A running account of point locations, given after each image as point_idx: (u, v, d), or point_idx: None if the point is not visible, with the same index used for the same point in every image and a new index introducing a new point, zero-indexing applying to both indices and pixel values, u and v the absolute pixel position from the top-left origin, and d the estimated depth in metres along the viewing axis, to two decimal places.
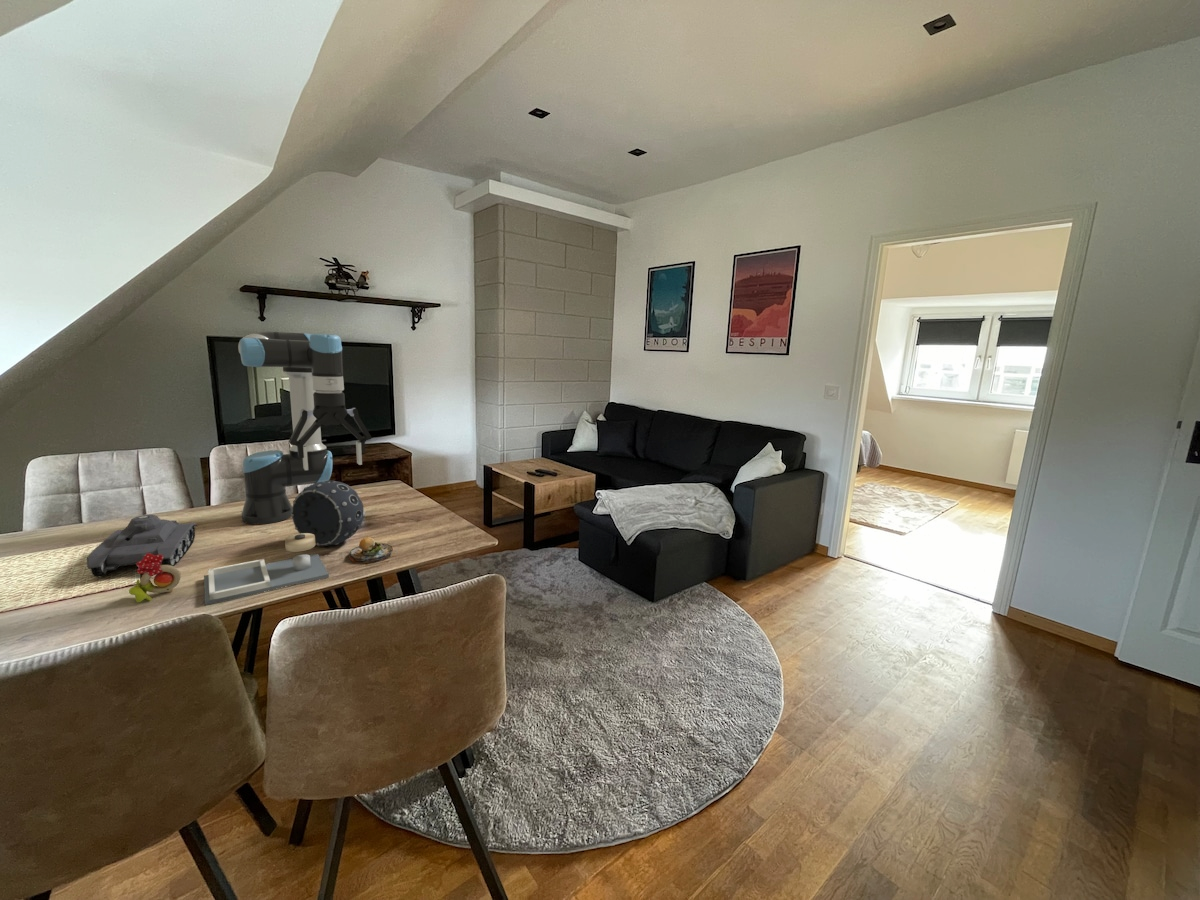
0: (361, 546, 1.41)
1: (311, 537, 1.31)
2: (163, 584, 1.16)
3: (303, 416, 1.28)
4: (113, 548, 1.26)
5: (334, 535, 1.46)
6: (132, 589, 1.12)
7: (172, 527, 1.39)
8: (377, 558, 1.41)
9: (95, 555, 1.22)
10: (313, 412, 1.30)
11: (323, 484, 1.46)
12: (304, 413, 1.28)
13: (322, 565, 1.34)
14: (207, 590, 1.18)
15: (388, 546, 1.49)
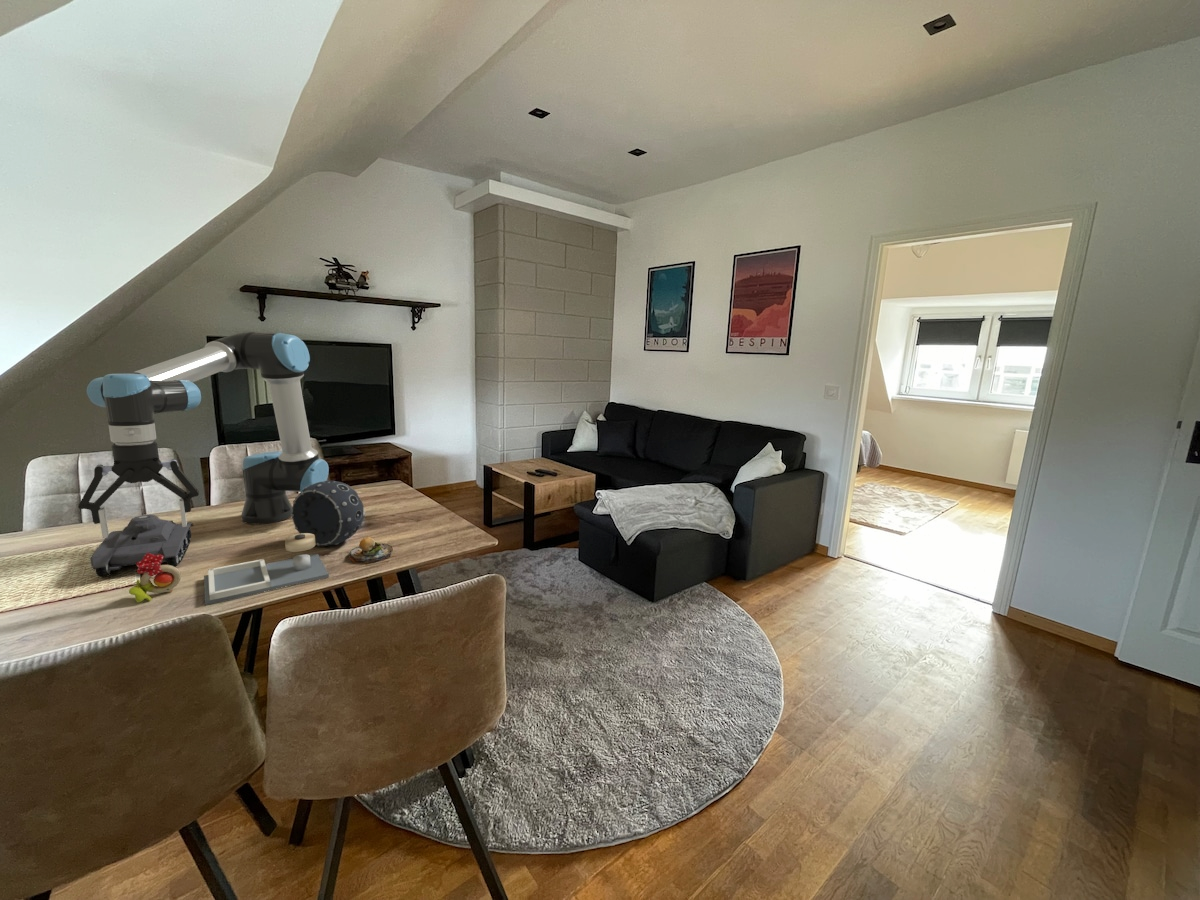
0: (361, 546, 1.41)
1: (311, 537, 1.31)
2: (163, 584, 1.16)
3: (96, 474, 1.05)
4: (115, 548, 1.26)
5: (334, 535, 1.46)
6: (132, 589, 1.12)
7: (171, 527, 1.39)
8: (377, 558, 1.41)
9: (99, 555, 1.22)
10: (111, 468, 1.07)
11: (323, 484, 1.46)
12: (97, 470, 1.05)
13: (322, 565, 1.34)
14: (207, 590, 1.18)
15: (388, 546, 1.49)
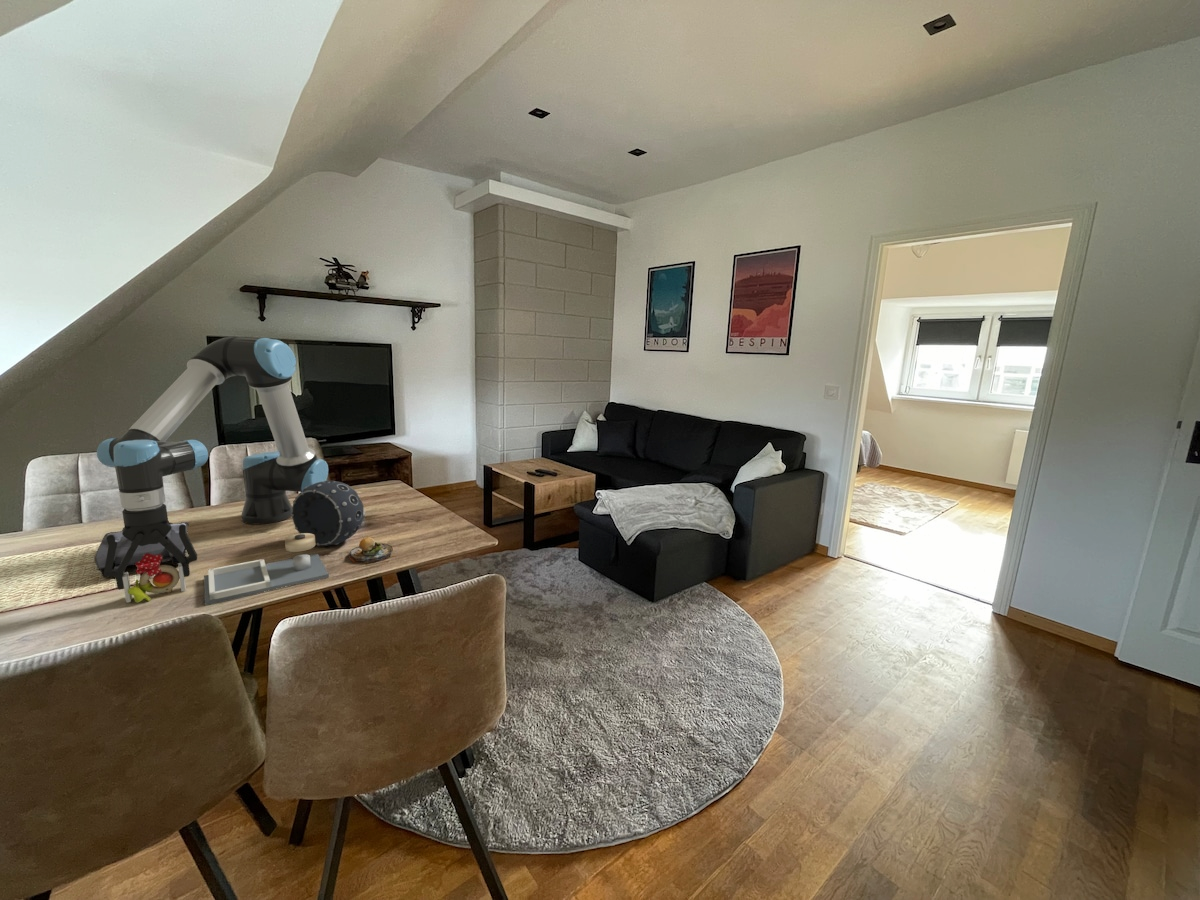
0: (361, 546, 1.41)
1: (311, 537, 1.31)
2: (162, 584, 1.16)
3: (109, 542, 1.09)
4: (118, 548, 1.26)
5: (334, 535, 1.46)
6: (131, 589, 1.12)
7: None
8: (377, 558, 1.41)
9: (103, 556, 1.22)
10: (122, 533, 1.10)
11: (323, 484, 1.46)
12: (109, 539, 1.09)
13: (322, 565, 1.34)
14: (207, 590, 1.18)
15: (388, 546, 1.49)
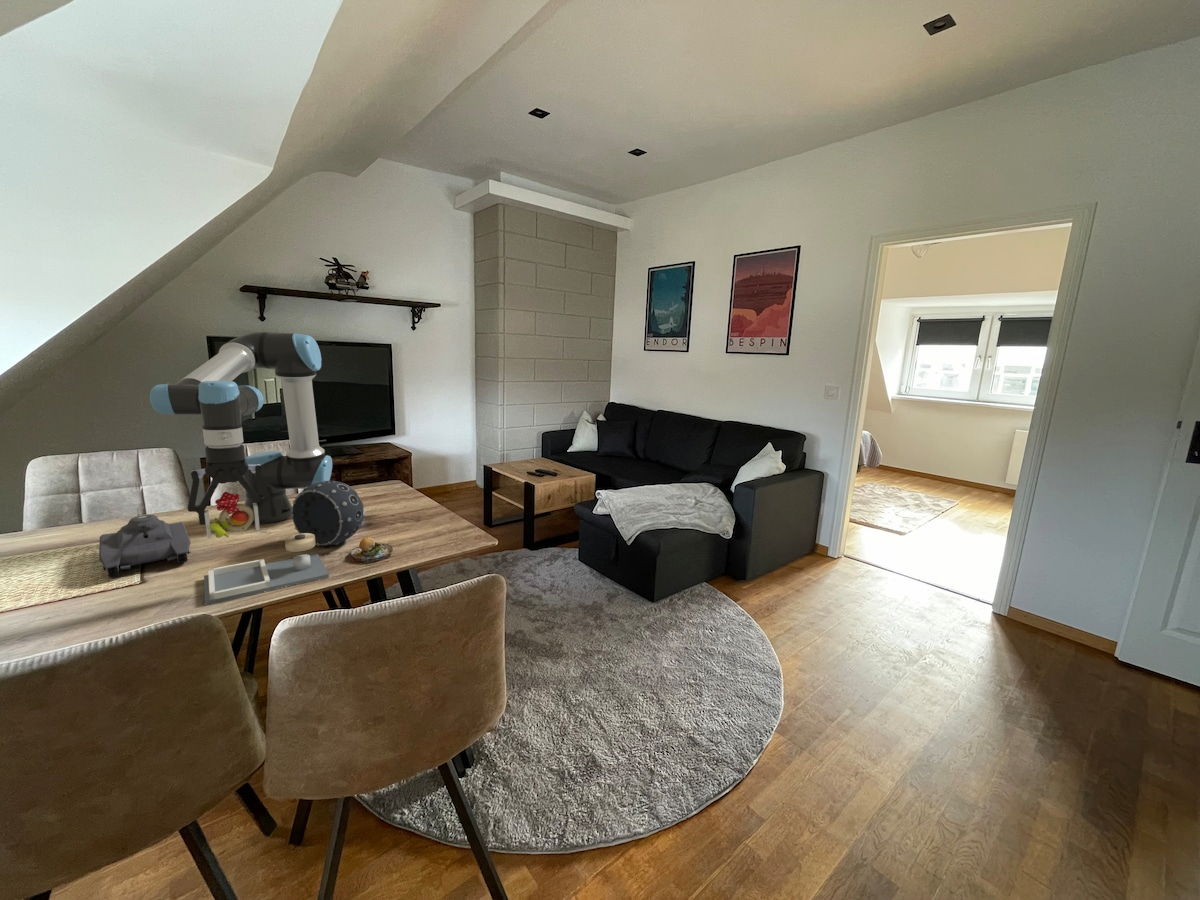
0: (361, 546, 1.41)
1: (311, 537, 1.31)
2: (239, 522, 1.20)
3: (193, 478, 1.13)
4: (122, 548, 1.26)
5: (334, 535, 1.46)
6: (212, 525, 1.16)
7: (168, 526, 1.39)
8: (377, 558, 1.41)
9: (108, 556, 1.22)
10: (205, 470, 1.15)
11: (323, 484, 1.46)
12: (193, 474, 1.13)
13: (322, 565, 1.34)
14: (207, 590, 1.18)
15: (388, 546, 1.49)
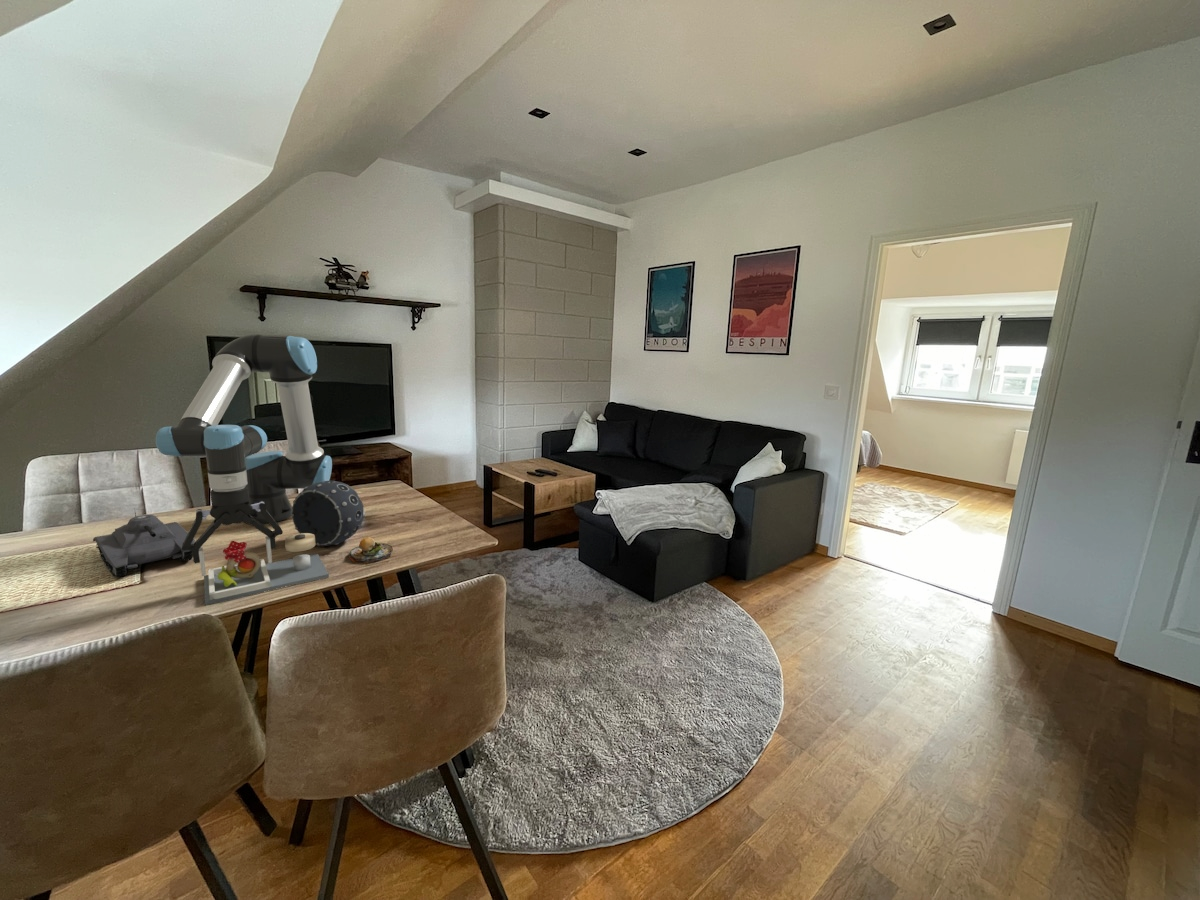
0: (361, 546, 1.41)
1: (311, 537, 1.31)
2: (247, 570, 1.23)
3: (197, 518, 1.15)
4: (126, 548, 1.26)
5: (334, 535, 1.46)
6: (220, 574, 1.19)
7: None
8: (377, 558, 1.41)
9: (114, 556, 1.23)
10: (210, 512, 1.17)
11: (323, 484, 1.46)
12: (198, 515, 1.15)
13: (322, 565, 1.34)
14: (207, 590, 1.18)
15: (388, 546, 1.49)
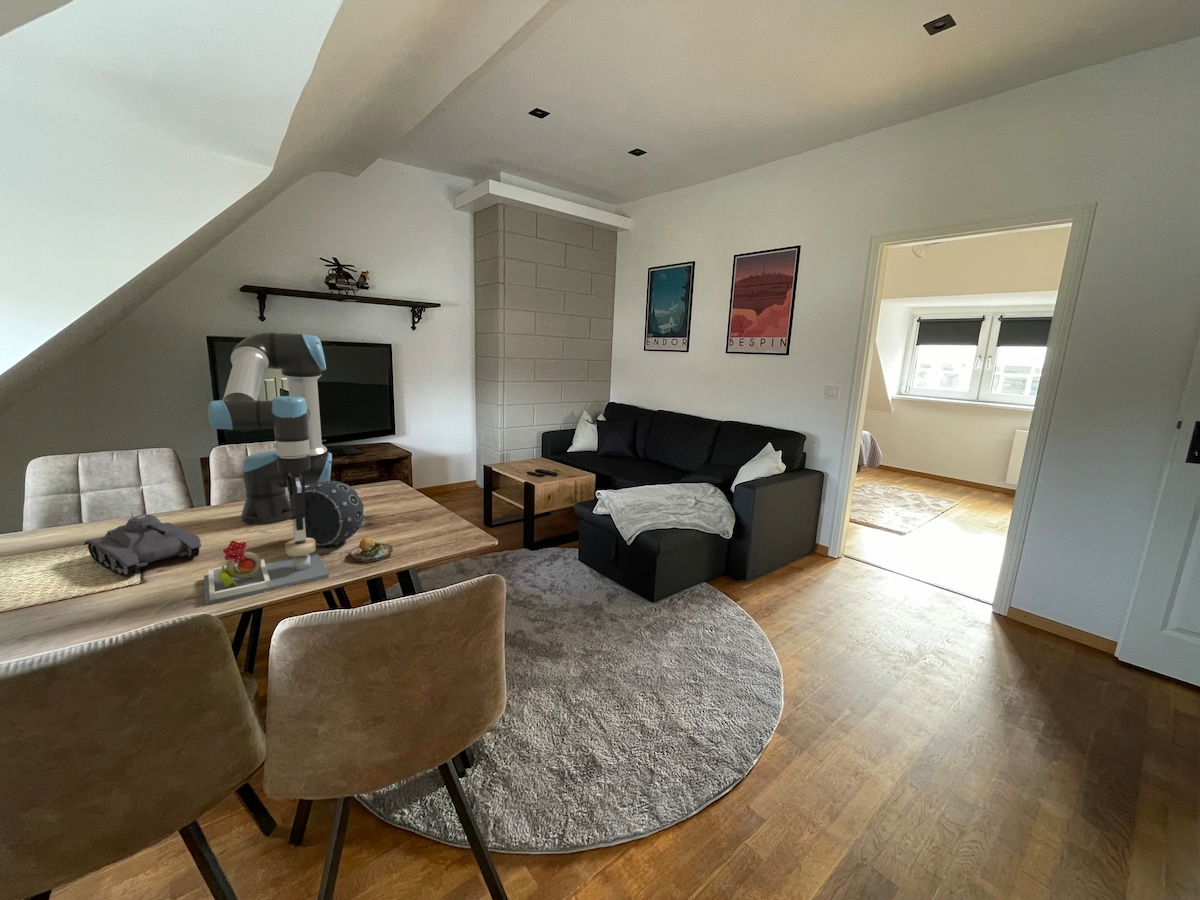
0: (361, 546, 1.41)
1: (311, 542, 1.32)
2: (247, 570, 1.23)
3: None
4: (133, 548, 1.27)
5: (334, 535, 1.46)
6: (220, 574, 1.19)
7: None
8: (377, 558, 1.41)
9: (124, 555, 1.23)
10: None
11: (323, 484, 1.46)
12: None
13: (322, 565, 1.34)
14: (207, 590, 1.18)
15: (388, 546, 1.49)
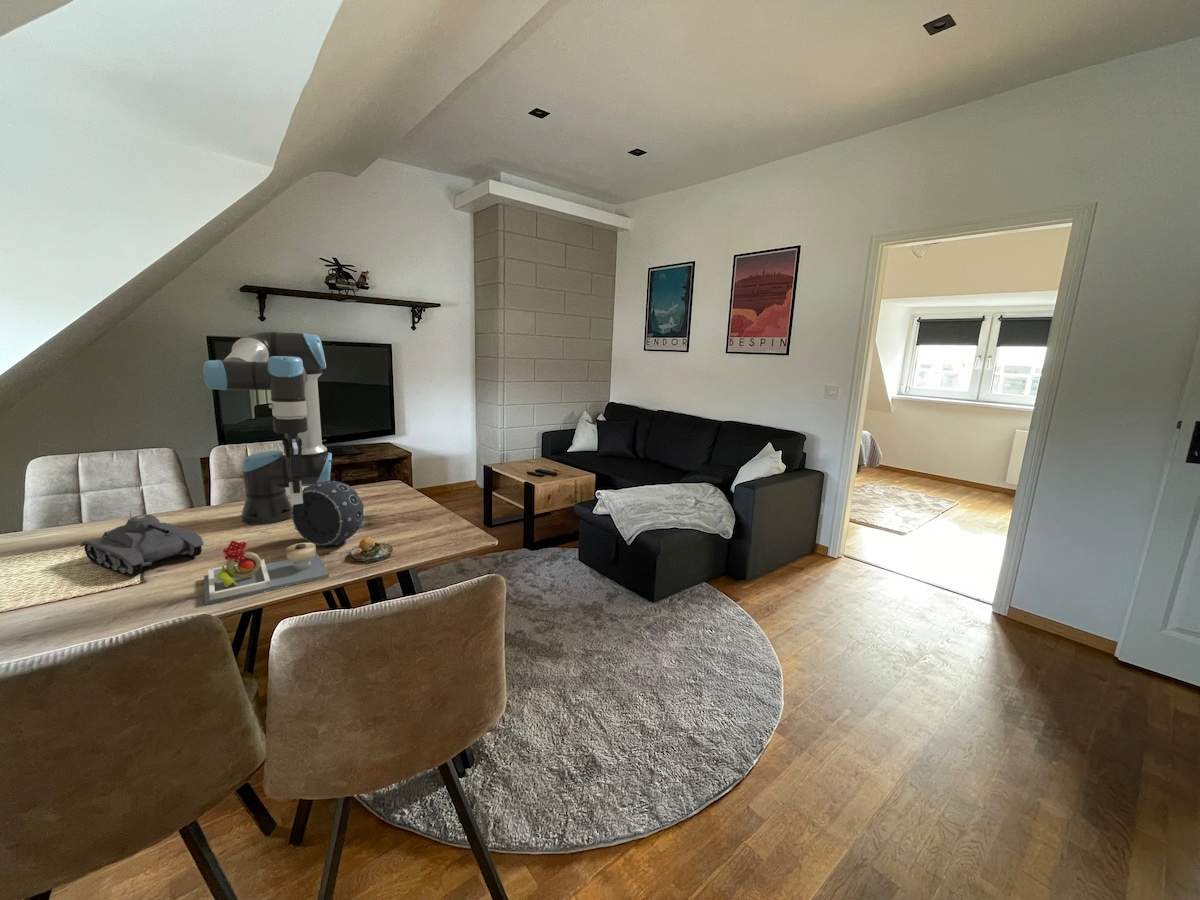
0: (361, 546, 1.41)
1: (312, 547, 1.32)
2: (247, 570, 1.23)
3: None
4: (135, 547, 1.27)
5: (334, 535, 1.46)
6: (220, 574, 1.19)
7: None
8: (377, 558, 1.41)
9: (128, 555, 1.24)
10: None
11: (323, 484, 1.46)
12: None
13: (322, 565, 1.34)
14: (207, 590, 1.18)
15: (388, 546, 1.49)
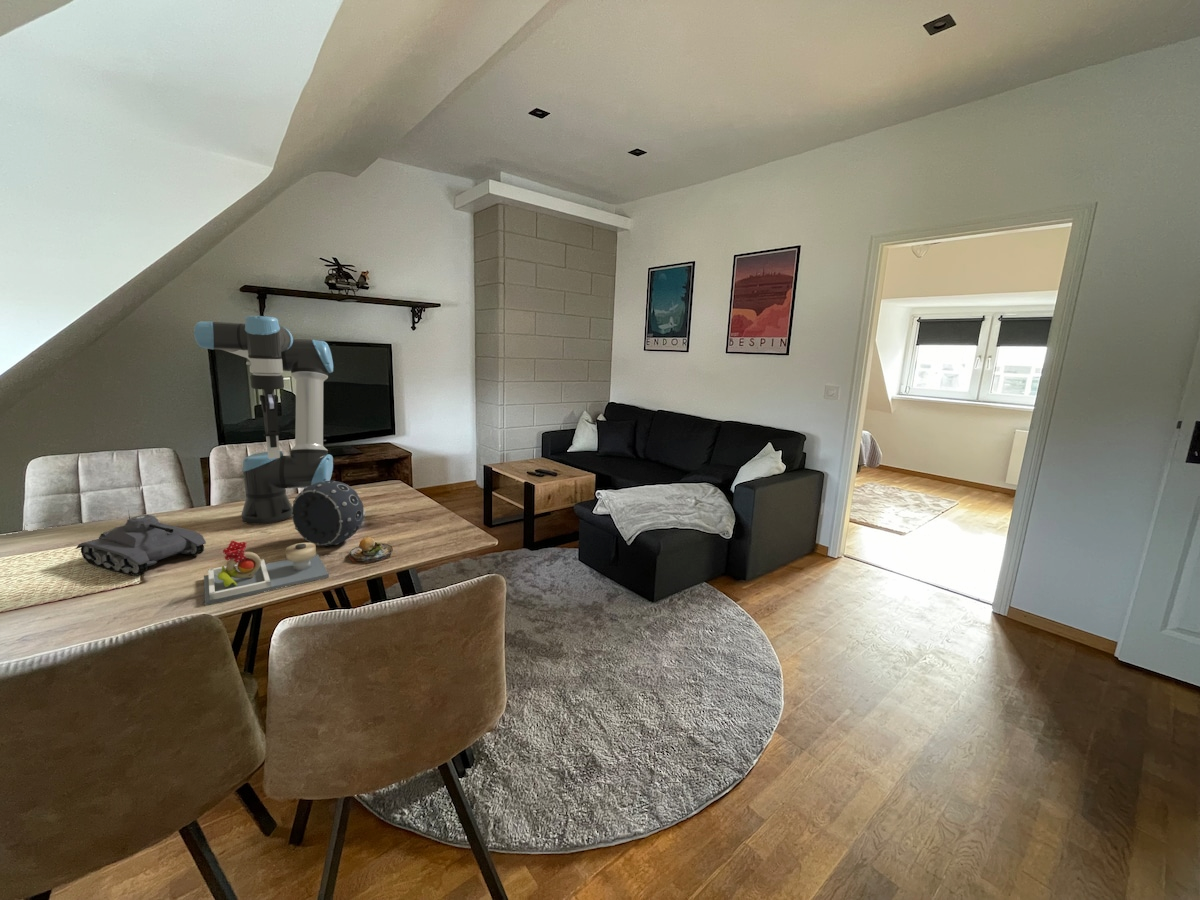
0: (361, 546, 1.41)
1: (312, 547, 1.32)
2: (247, 570, 1.23)
3: None
4: (139, 547, 1.27)
5: (334, 535, 1.46)
6: (220, 574, 1.19)
7: None
8: (377, 558, 1.41)
9: (133, 554, 1.24)
10: None
11: (323, 484, 1.46)
12: None
13: (322, 565, 1.34)
14: (207, 590, 1.18)
15: (388, 546, 1.49)
